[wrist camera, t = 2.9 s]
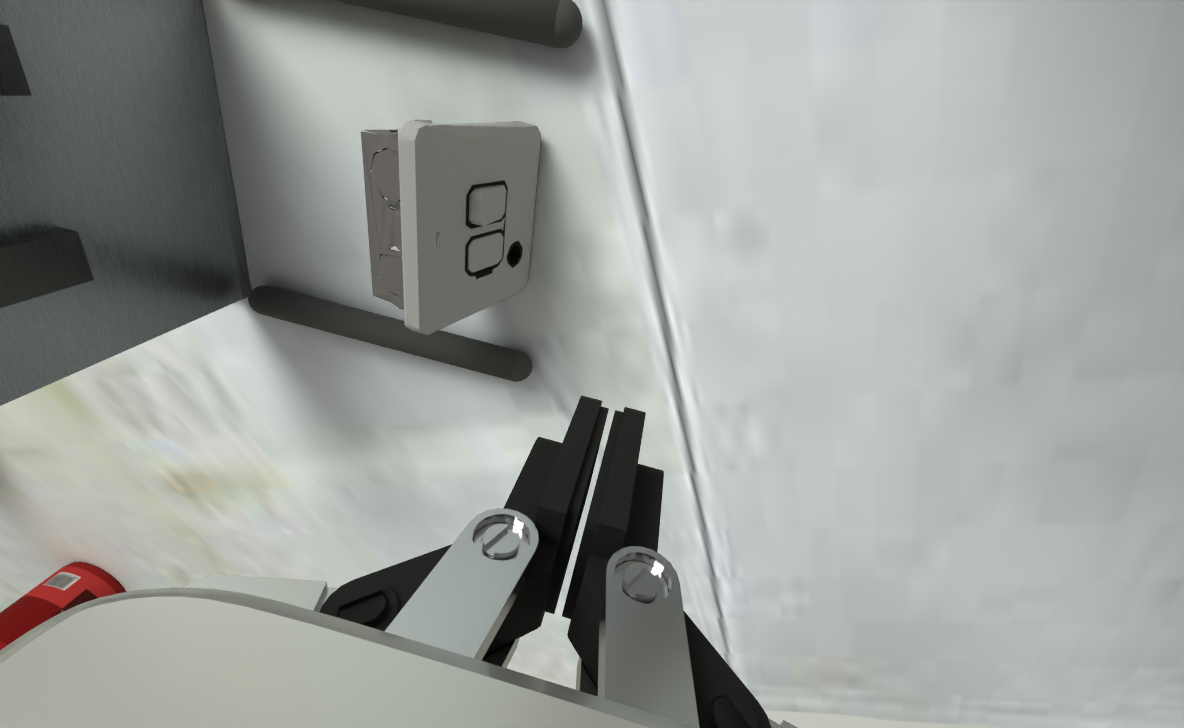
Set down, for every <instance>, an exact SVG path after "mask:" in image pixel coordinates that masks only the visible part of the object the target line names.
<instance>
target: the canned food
mask: <svg viewBox="0 0 1184 728" xmlns="http://www.w3.org/2000/svg"><path fill="white" fill-rule="evenodd" d="M124 592H125V591H124V589H123V587H122V586H121V585H120V583H119V582H118V581H117V580H116V579H115V578H114V577H112V576H111V575H110V574H108V573H107V572H105V571H104V570H102V569H100V568H98V567H96V566H94V565H91V564H88V563H83V562H74V563H71V564H69V565H66V566H64V567H62V568H61V569H60V570H58V571H57V572H55V573H54V574H53V575H51V576H50V577H49V578H47V579H46V580H45V581H43V582H42V583H40V584H39V585H38V586H36V587H35V588H34V589H32V590H31V591H30V592H28V593H27V594H25V595H24V596H23V597H21V598H20V599H19V600H17V601H16V602H15V603H13V604H12V605H10V606H9V607H8V608H6V609H5V610H4V611H2V612H1V613H0V650H2V649H3V648H5V647H6V646H7V645H9V644H10V643H12V642H13V641H15V640H16V639H18V638H19V637H21V636H22V635H24V634H25V633H27V632H29V631H30V630H32V629H33V628H35V627H37V626H38V625H40V624H42V623H43V622H45V621H47V620H49V619H51V618H52V617H54V616H56V615H58V614H60V613H62V612H64V611H66V610H68V609H71V608H73V607H75V606H77V605H79V604H82V603H85V602H88V601H91V600H94V599H97V598H100V597H105V596H109V595H114V594H119V593H124Z"/></svg>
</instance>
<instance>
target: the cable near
mask: <svg viewBox="0 0 1184 728" xmlns="http://www.w3.org/2000/svg"><path fill="white" fill-rule="evenodd" d="M337 1H341V2H346V3H351V4H355V5H360V6H365V7H370V8H374V9H379V10H384V11H388V12H393V13H398V14H402V15H407V16H412V17H416V18H421V19H426V20H430V21H435V22H440V23H445V24H449V25H454V26H459V27H463V28H468V29H473V30H477V31H482V32H487V33H491V34H496V35H501V36H505V37H510V38H515V39H520V40H524V41H529V42H534V43H538V44H543V45H548V46H552V47H557V48H566V47H569V46H571V45H572V44H574V43H575V42H576V40H577V39H578V37H579V36H580V33H581V30H582V16H581V13H580V10H579V8H578V7H577V5H576V4H575V3H574V2H573V1H572V0H337Z"/></svg>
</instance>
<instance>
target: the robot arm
mask: <svg viewBox="0 0 1184 728" xmlns="http://www.w3.org/2000/svg"><path fill="white" fill-rule="evenodd" d="M601 404H602V401H600V400H597V399H593V398H589V397H585V396H581V398H580V400H579V403H578V405H577V408H576V410H575V413H574V415H573V418H572V420H571V423H570V426H569V428H568V431H567V433H566V436H565V438H564V441H563V443H560V442H556V441H552V440H549V439H545V438H541V437H538V438H537V440H536V442H535V444H534V446H533V448H532V450H531V452H530V454H529V456H528V458H527V460H526V462H525V465H524V467H523V469H522V471H521V473H520V475H519V477H518V479H517V481H516V483H515V486H514V488H513V490H512V492H511V494H510V496H509V498H508V500H507V502H506V504H505V506H504V509H499V508H497V509H492V510H487V511H485V512H483V513H481V514H479V515H477V516H476V517H475V518H474V519H473V520H472V521H471V522H470V523H469V524H468V525H467V526H466V528H465V529H464V530H463V532H462V533H461V534H460V535H459V537H458V538H457V539H456V541H455V542H454V543H453V544H452V545H449V546H446V547H443V548H441V549H438V550H435V551H432V552H430V553H427V554H424V555H421V556H418V557H416V558H413V559H410V560H407V561H405V562H402V563H399V564H396V565H393V566H391V567H388V568H385V569H382V570H380V571H377V572H374V573H371V574H368V575H366V576H363V577H360V578H357V579H355V580H352V581H350V582H348V583H346V584H344V585H342V586H341V587H339V588H330V587H327V582H326V581H311V580H297V579H282V578H267V577H252V576H237V575H214V576H207V577H204V578H201V579H198V580H195V581H193V582H191V583H189V584H188V585H186V586H184V587H183V588H161V589H147V590H137V591H131V592H124V593H119V594H114V595H109V596H105V597H100V598H97V599H94V600H91V601H88V602H85V603H82V604H79V605H77V606H75V607H73V608H71V609H68V610H66V611H64V612H62V613H60V614H58V615H56V616H54V617H52V618H51V619H49V620H47V621H45V622H43V623H42V624H40V625H38V626H37V627H35V628H33V629H32V630H30V631H29V632H27V633H25V634H24V635H22V636H21V637H19V638H18V639H16V640H15V641H13V642H12V643H10V644H9V645H7V646H6V647H5V648H3V649H2V650H0V728H797V727H795V726H793V725H791V724H790V723H788V722H786V721H784V720H783V722H782V723H781V725H779V724H777V723H776V722H774V721H772V720H770V719H768V717H767V715H766V713H765V712H764V710H763V709H762V707H761V705H760V704H759V702H758V701H757V700H756V699H755V697H754V696H753V695H752V694H751V692H750V691H749V690H748V689H747V688H746V686H745V685H744V684H743V683H742V681H741V680H740V679H739V678H738V677H737V675H736V674H735V673H734V672H733V670H732V669H731V668H730V667H729V666H728V664H727V663H726V662H725V661H724V659H723V658H722V657H721V656H720V655H719V653H718V652H717V651H716V650H715V648H714V647H713V646H712V645H711V644H710V642H709V641H708V640H707V639H706V637H705V636H704V635H703V634H702V633H701V631H700V630H699V629H698V628H697V626H696V625H695V624H694V623H693V622H692V620H691V619H690V618H689V617H688V615H687V614H686V613H685V612H684V611H683V603H682V596H681V589H680V582H679V579H678V576H677V572H676V571H675V569H674V568H673V566H672V565H671V563H670V562H669V561H668V560H667V559H665V558H664V557H663V556H662V555H661V554H659V553H657V549H658V537H659V525H660V513H661V501H662V490H663V478H664V472H663V471H662V470H659V469H655V468H651V467H648V466H644V465H640V464H638V458H639V451H640V445H641V439H642V433H643V426H644V420H645V414H646V413H645V412H642V411H638V410H634V409H631V408H627V407H625V408H624V412H620V411H616V410H615V414H614V417H613V421H612V425H611V429H610V433H609V436H608V440H607V444H606V448H605V452H604V456H603V459H602V463H601V467H600V471H599V475H598V478H597V482H596V486H595V490H594V494H593V498H592V501H591V505H590V509H589V513H588V517H587V521H586V524H585V528H584V532H583V536H582V540H581V544H580V548H579V552H578V555H577V559H576V563H575V567H574V571H573V575H572V579H571V583H570V587H569V590H568V594H567V598H566V602H565V606H564V610H563V614H562V617H566V618H569V619H571V622H570V626H569V630H568V634H567V635H568V638H569V640H570V642H571V643H572V645H573V647H574V648H575V650H576V651H577V653H578V655H579V660H578V665H577V676H576V690H575V689H571V688H568V687H565V686H562V685H558V684H555V683H552V682H549V681H545V680H542V679H539V678H536V677H532V676H529V675H526V674H523V673H519V672H516V671H513V670H510V669H506V668H507V666H508V664H509V662H510V660H511V658H512V656H513V654H514V652H515V650H516V648H517V645H518V641H519V638H520V637H522V636H524V635H526V634H528V633H529V632H531V631H533V630H535V629H537V628H538V627H540V626H541V623H542V620H543V616H544V613H545V611H546V612H549V613H552V614H554V613H555V609H556V605H557V602H558V598H559V595H560V591H561V587H562V584H563V580H564V577H565V573H566V569H567V566H568V562H569V559H570V555H571V551H572V548H573V544H574V541H575V537H576V533H577V530H578V526H579V523H580V519H581V515H582V512H583V508H584V505H585V501H586V497H587V493H588V490H589V486H590V482H591V478H592V474H593V470H594V466H595V462H596V458H597V454H598V450H599V446H600V442H601V438H602V434H603V430H604V426H605V422H606V418H607V414H608V409H609V408H605V407H601Z"/></svg>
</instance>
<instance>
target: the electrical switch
mask: <svg viewBox="0 0 1184 728" xmlns="http://www.w3.org/2000/svg"><path fill="white" fill-rule="evenodd" d="M365 131H368V132H372V133H375V134H372V133H368V132H361V139H362V152H363V166H364V179H365V193H366V206H367V220H368V233H369V246H370V260H371V273H372V287H373V296H376V297H379V298H381V299H384V300H386V301H389V302H391V303H393V304H394V305H396V306H397V307H398V308H400V309H402V310H404V316H405V326H406V327H408V328H409V329H410V330H412V331H416V332H419V333H422V334H426V335H429V334H431V333H433V332H435V331H438V330H440V329H442V328H444V327H446V326H448V325H450V324H453V323H455V322H457V321H459V320H461V319H463V318H465V317H468V316H470V315H472V314H474V313H476V312H478V311H480V310H482V309H485V308H487V307H489V306H491V305H493V304H495V303H497V302H500V301H502V300H504V299H506V298H508V297H510V296H512V295H514V294H517V293H519V292H521V291H522V290H523V289H524V287H525V285H526V283H527V282H528V275H529V265H530V254H531V243H532V232H533V221H534V210H535V199H536V188H537V177H538V166H539V155H540V144H541V133H540V131H539V130H538V128H537V126H534V125H531V124H527V123H524V122H519V121H516V122H496V123H468V124H433V123H432V121H431V120H412V121H409V122H407V123H406V124H404V125H403V126H401V127H400V128H399V129H398V130H365ZM376 134H378V135H376ZM381 135H382V136H381ZM379 150H382V151H379ZM378 151H379V152H378ZM371 169H372V170H371ZM370 171H371V172H370ZM384 197H386V198H387V199H389V200H386V199H385V198H384ZM390 207H393V208H395V209H393V208H390ZM393 246H396V247H397V248H398V249H399V250H400V251H401V252H399V251H395V250H391V249H390V248H391V247H393ZM401 257H402V258H401ZM378 276H380V278H381V279H380V278H379V277H378Z"/></svg>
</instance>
